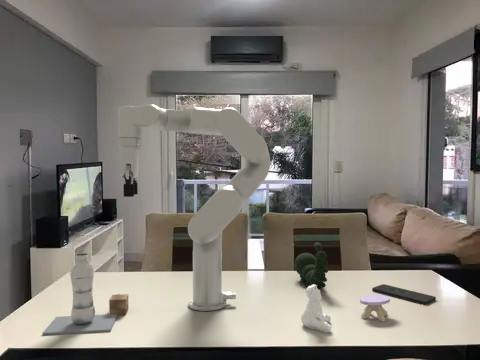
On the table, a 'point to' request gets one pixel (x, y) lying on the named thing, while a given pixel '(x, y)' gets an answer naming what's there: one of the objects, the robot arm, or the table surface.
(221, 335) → the table surface
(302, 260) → the toy figurine
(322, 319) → the seated beast figurine
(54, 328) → the slate mat
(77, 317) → the plastic bottle
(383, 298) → the toy table
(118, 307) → the walnut block
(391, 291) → the smart home device
